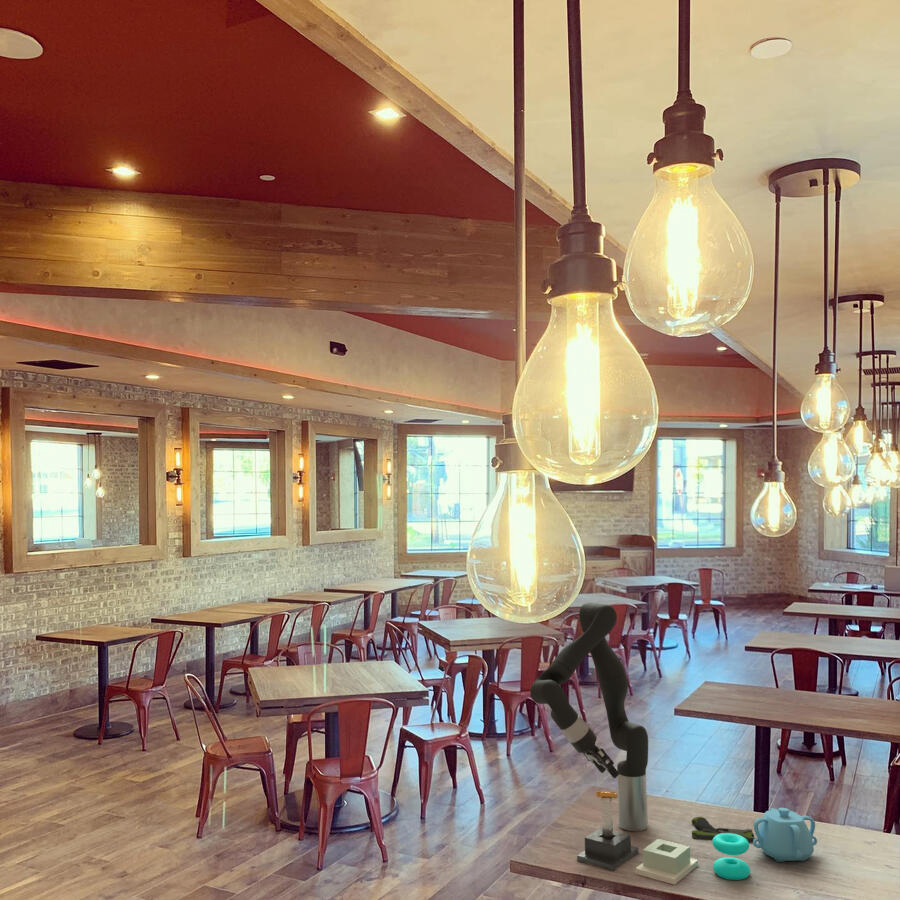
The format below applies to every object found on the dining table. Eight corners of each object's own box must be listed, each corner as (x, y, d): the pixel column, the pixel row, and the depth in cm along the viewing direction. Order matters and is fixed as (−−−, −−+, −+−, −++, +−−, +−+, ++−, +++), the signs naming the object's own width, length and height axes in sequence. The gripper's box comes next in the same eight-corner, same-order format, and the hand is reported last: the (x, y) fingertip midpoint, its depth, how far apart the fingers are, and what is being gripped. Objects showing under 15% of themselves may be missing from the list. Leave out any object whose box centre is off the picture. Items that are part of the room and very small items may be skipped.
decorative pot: (825, 855, 260) (823, 809, 260) (799, 871, 249) (797, 822, 250) (773, 840, 272) (771, 796, 272) (746, 855, 261) (745, 808, 262)
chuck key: (596, 852, 261) (594, 793, 262) (597, 848, 264) (595, 789, 265) (618, 854, 259) (617, 794, 260) (619, 850, 262) (617, 791, 263)
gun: (749, 827, 284) (756, 846, 270) (689, 823, 288) (692, 841, 273) (749, 819, 284) (756, 838, 270) (689, 815, 288) (692, 833, 273)
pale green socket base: (659, 855, 262) (659, 834, 262) (698, 865, 254) (697, 844, 255) (635, 873, 249) (634, 852, 250) (674, 884, 242) (674, 862, 242)
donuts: (717, 829, 256) (752, 835, 250) (718, 864, 255) (753, 871, 250) (708, 840, 247) (744, 847, 242) (709, 877, 247) (745, 884, 241)
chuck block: (603, 843, 272) (602, 823, 272) (638, 852, 264) (638, 832, 264) (577, 860, 259) (576, 840, 259) (613, 870, 252) (612, 849, 252)
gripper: (596, 727, 262) (629, 769, 263) (576, 721, 275) (608, 760, 276) (579, 745, 259) (612, 787, 260) (560, 738, 273) (591, 777, 274)
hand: (610, 773), depth 268 cm, fingers open, 8 cm apart
